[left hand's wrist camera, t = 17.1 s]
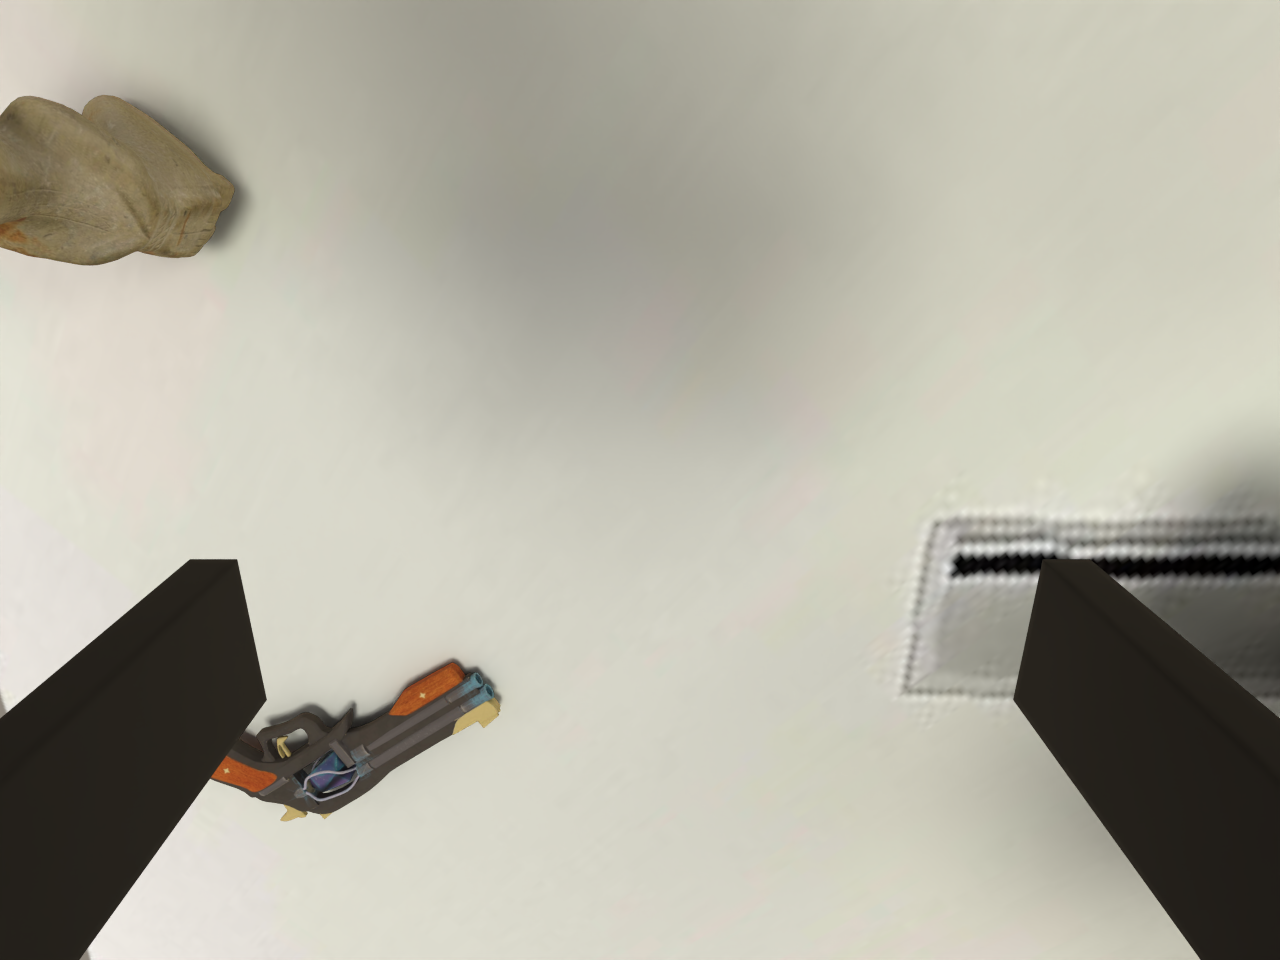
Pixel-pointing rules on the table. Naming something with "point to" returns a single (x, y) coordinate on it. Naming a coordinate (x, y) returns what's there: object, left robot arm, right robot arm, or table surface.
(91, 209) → the sculpture
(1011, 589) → the table surface
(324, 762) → the toy gun
